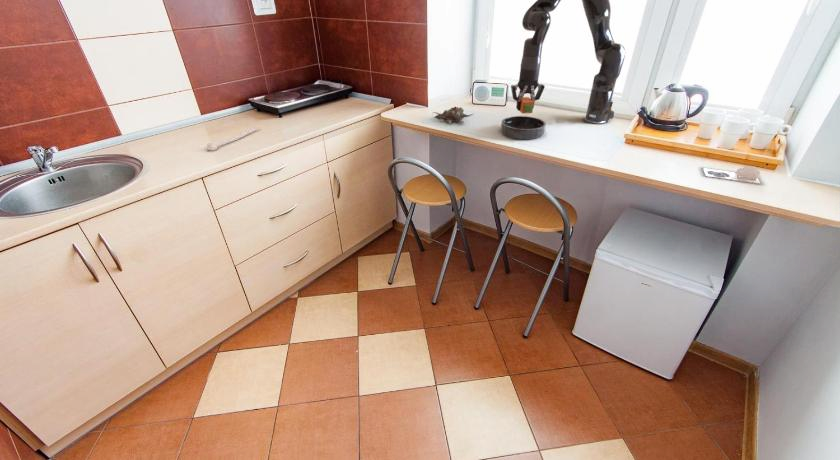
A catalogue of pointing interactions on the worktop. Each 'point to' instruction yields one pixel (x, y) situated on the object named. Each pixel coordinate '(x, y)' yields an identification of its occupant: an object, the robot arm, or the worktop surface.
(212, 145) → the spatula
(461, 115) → the figurine
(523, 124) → the pan
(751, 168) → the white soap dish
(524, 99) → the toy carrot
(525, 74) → the robot arm
